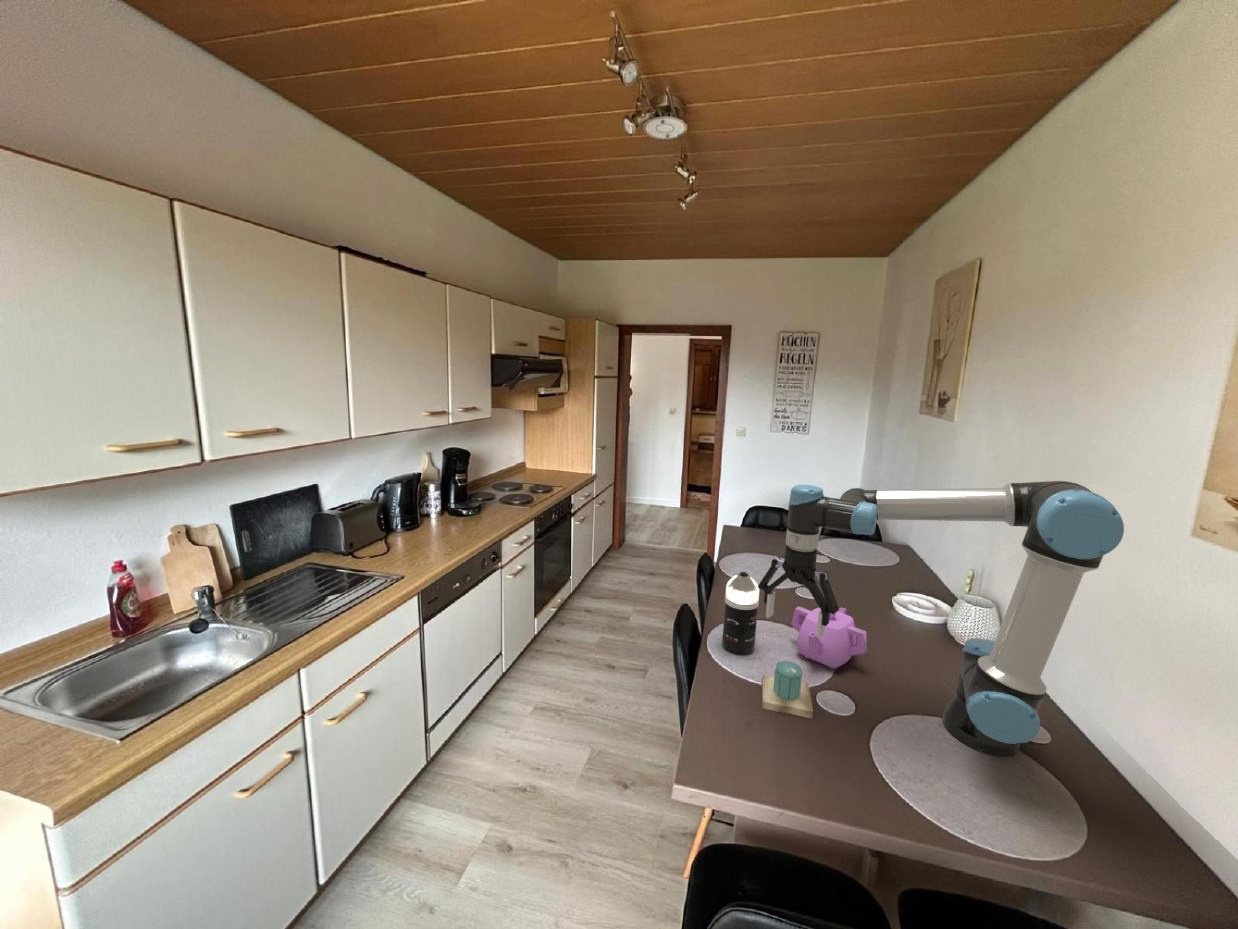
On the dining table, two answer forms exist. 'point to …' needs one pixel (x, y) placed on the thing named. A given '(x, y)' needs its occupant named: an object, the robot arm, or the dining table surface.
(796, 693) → the cap
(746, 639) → the black bottle
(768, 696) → the bolt post
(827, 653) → the teapot
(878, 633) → the dining table surface
